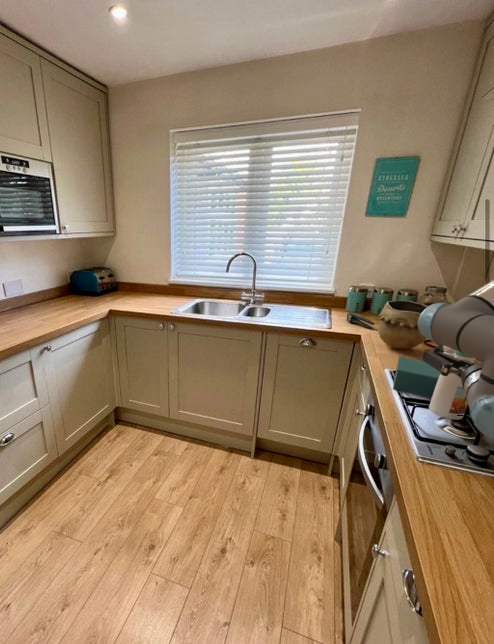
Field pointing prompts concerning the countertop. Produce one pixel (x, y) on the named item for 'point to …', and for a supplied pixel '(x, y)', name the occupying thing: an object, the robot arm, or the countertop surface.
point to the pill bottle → (448, 351)
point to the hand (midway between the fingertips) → (474, 354)
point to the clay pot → (401, 324)
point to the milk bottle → (450, 394)
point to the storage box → (415, 377)
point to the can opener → (356, 319)
